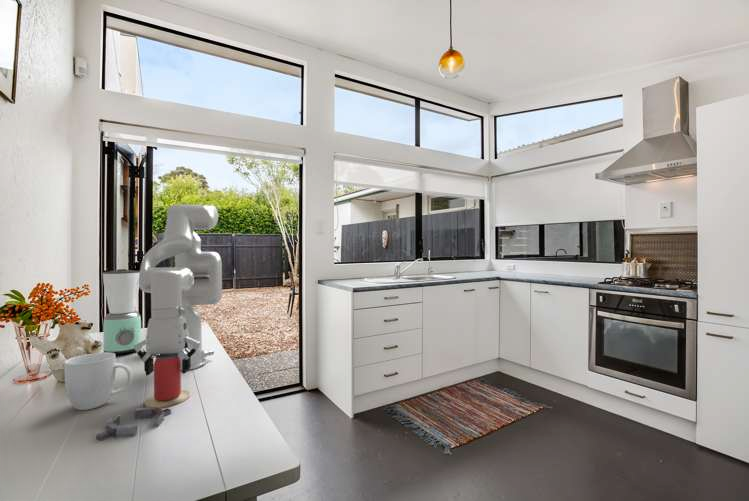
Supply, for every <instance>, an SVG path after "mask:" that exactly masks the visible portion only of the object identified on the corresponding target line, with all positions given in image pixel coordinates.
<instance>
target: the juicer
mask: <svg viewBox="0 0 749 501" xmlns="http://www.w3.org/2000/svg"><path fill="white" fill-rule="evenodd" d="M139 273H140V270H130V269H126V268H125V269H124V268H123V269H117V270H111V271H103V272H101V274H102V282H103V287H104V292H105V296H106V297H105V298H106V303H107V308H108V312H109V313H107V314H106V315H105V317H104V318H103V326H102V327H103V328H102V329H103V337H102V338H103V342H102V343H103V352H109V353H114V354H115V357H117V355H122V354H127V353H132V354H137V352H136V350H135V349H134V345H136V344H138V343H140V342H142V320H141V319H142V318H141V317H142V316H141V314H140V313H139V311H137V310H136V307H137V301H138V295H139V290H140V287H139Z"/></svg>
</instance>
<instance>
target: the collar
mask: <svg viewBox="0 0 749 501" xmlns="http://www.w3.org/2000/svg"><path fill="white" fill-rule="evenodd" d="M171 414H172V410H171V409H170V408H169V407H166V408H164V409H163V408H157V407H155V408H154V407H146V406H145V407H139V408H138V407H137V408H136V409H135V410H134V416H135V417H134V418H135V419H141V418H152V428H159V427H160V425H161V424H162V422H163V421H164V420H165V417H166V416H168V415H171ZM105 426H106V427H105V431H103V432H100V433H97V434H95V439H96V440H97V441H98V442H100V441H103V440H105V439H109V438H111V437H112V438H113V439H114V438H116V439H119V438H128V437H136V436H137V434H138V424H131V425H123V426H121V415H115V416H113V417H112V418H111V419H110V420H108V421H107V422H106V424H105Z"/></svg>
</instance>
